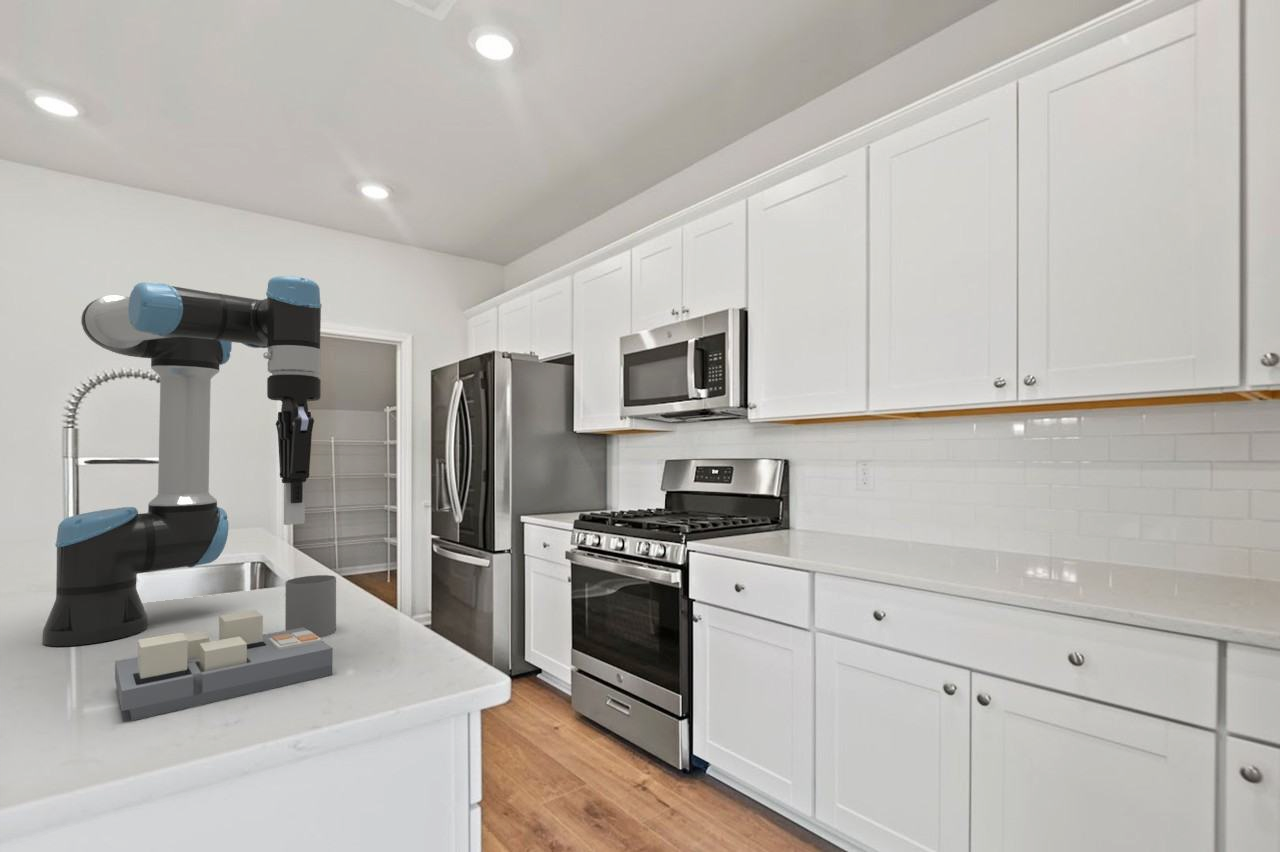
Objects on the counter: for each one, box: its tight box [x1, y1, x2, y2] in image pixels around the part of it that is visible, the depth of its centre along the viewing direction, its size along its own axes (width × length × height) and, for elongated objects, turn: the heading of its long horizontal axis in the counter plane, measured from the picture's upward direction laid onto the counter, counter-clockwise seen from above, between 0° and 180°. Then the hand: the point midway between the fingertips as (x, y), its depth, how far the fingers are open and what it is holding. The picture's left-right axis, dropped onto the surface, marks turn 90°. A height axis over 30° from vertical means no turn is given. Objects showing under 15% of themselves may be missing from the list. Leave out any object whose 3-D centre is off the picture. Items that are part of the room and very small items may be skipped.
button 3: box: [199, 637, 247, 672], centre depth 93 cm, size 5×5×4 cm
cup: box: [284, 574, 337, 638], centre depth 121 cm, size 8×8×10 cm
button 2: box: [183, 630, 210, 660], centre depth 96 cm, size 5×5×4 cm
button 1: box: [137, 632, 187, 679], centre depth 88 cm, size 5×5×4 cm
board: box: [114, 627, 333, 722], centre depth 96 cm, size 16×25×5 cm, turn 131°
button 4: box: [218, 609, 264, 644], centre depth 101 cm, size 5×5×4 cm
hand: (294, 523), depth 103 cm, fingers closed
